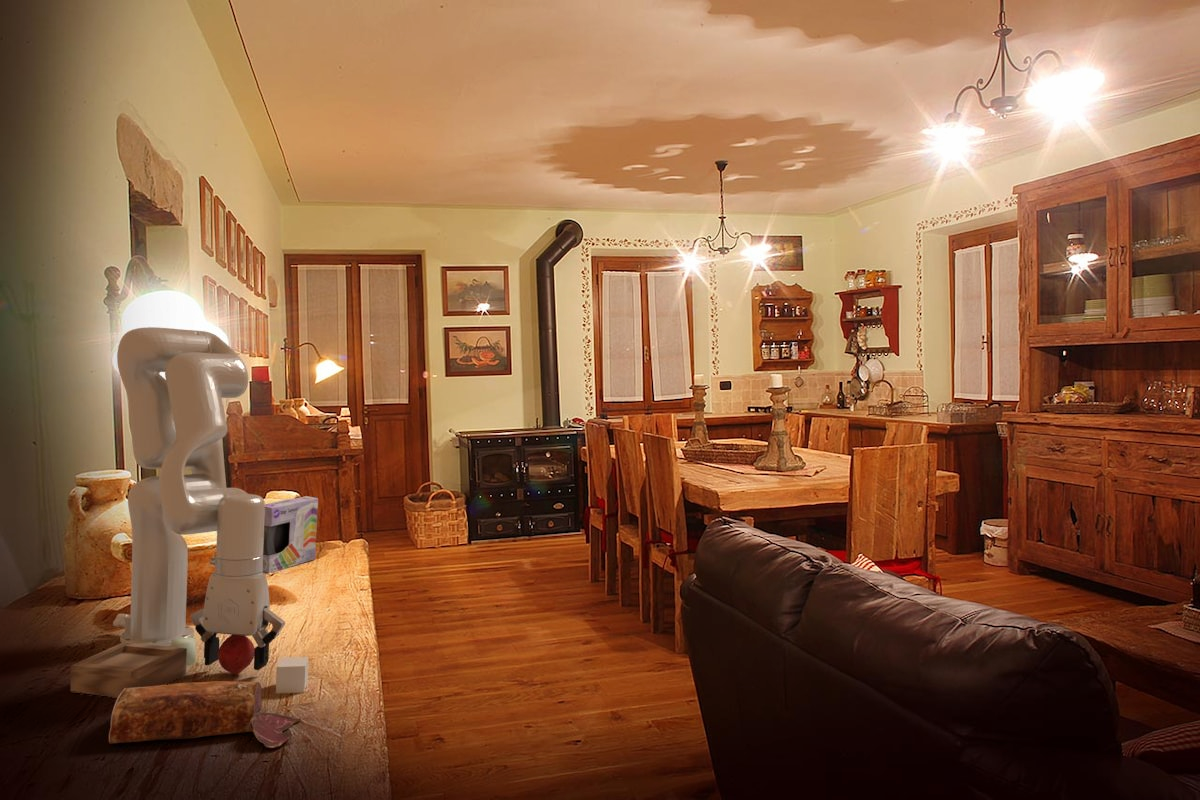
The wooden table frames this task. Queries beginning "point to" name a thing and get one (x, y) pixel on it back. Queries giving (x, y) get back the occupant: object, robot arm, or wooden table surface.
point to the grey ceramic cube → (292, 675)
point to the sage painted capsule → (186, 643)
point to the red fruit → (236, 653)
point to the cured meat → (195, 713)
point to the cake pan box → (289, 533)
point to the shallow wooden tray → (128, 669)
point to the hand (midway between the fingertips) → (236, 664)
